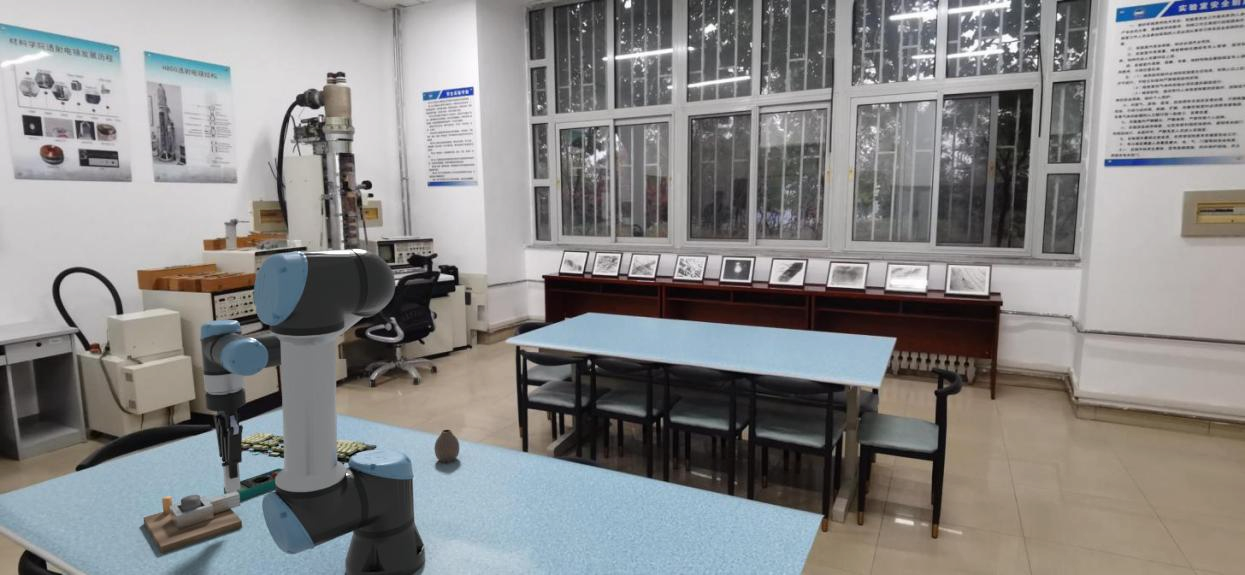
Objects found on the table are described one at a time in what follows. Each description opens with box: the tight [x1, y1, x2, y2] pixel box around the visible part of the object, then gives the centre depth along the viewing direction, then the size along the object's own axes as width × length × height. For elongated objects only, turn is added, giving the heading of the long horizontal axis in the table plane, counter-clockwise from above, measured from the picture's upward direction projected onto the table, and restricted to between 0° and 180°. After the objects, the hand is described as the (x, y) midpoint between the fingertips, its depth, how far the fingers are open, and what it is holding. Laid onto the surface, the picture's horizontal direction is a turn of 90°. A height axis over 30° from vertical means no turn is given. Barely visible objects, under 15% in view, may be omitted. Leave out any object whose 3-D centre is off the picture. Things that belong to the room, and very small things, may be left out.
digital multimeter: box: [223, 468, 284, 502], centre depth 162 cm, size 7×15×3 cm, turn 146°
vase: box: [433, 428, 460, 463], centre depth 180 cm, size 7×7×9 cm
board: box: [143, 494, 243, 554], centre depth 143 cm, size 18×15×6 cm
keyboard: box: [242, 432, 378, 465], centre depth 188 cm, size 45×15×2 cm, turn 76°
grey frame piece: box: [170, 491, 241, 529], centre depth 145 cm, size 13×7×3 cm, turn 137°
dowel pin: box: [161, 495, 173, 514], centre depth 146 cm, size 2×2×4 cm
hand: (232, 489), depth 143 cm, fingers closed
